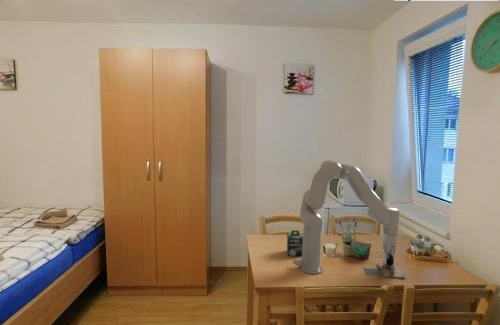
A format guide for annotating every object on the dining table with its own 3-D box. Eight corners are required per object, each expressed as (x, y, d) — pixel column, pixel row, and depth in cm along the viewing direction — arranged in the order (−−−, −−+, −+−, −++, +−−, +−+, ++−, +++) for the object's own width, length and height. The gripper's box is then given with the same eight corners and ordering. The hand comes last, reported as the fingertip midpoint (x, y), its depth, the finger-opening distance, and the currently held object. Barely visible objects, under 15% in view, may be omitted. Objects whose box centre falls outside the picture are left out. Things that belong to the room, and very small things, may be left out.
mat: (366, 275, 162) (366, 274, 162) (362, 268, 170) (362, 267, 170) (384, 276, 160) (384, 276, 160) (380, 269, 169) (380, 269, 169)
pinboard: (384, 277, 159) (384, 267, 159) (376, 265, 174) (377, 256, 174) (404, 279, 158) (405, 269, 157) (395, 267, 173) (396, 258, 172)
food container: (346, 256, 187) (347, 240, 186) (351, 254, 191) (351, 238, 190) (366, 262, 178) (367, 245, 177) (371, 259, 183) (372, 243, 182)
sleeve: (385, 267, 168) (385, 254, 167) (382, 264, 172) (383, 251, 172) (393, 268, 167) (394, 255, 167) (391, 264, 172) (392, 252, 171)
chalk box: (301, 251, 194) (302, 228, 193) (302, 256, 185) (303, 232, 183) (286, 250, 194) (287, 227, 193) (287, 256, 185) (288, 232, 184)
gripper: (379, 225, 177) (377, 256, 178) (387, 235, 160) (385, 269, 162) (392, 226, 176) (390, 257, 177) (402, 236, 159) (400, 270, 161)
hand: (388, 262), depth 170 cm, fingers open, 4 cm apart
